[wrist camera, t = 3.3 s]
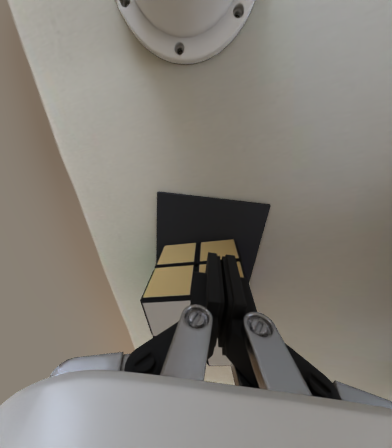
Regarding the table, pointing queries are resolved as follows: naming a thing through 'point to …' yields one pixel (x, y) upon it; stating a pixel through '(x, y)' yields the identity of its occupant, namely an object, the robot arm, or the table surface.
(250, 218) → the mat
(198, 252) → the puzzle cube
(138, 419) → the robot arm
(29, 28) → the table surface
